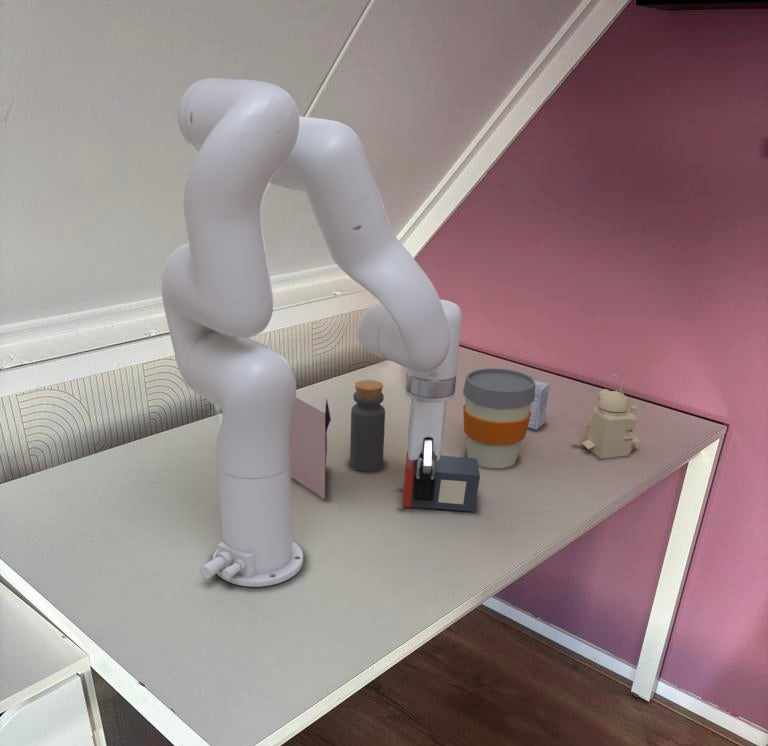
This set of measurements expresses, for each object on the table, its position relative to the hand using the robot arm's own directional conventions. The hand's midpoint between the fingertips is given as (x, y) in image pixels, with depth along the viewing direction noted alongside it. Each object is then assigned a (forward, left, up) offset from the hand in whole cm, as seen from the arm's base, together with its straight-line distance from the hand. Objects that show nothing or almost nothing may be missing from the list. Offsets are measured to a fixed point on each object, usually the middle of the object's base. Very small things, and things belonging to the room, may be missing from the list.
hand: (422, 488), depth 130 cm
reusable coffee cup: (+22, -2, -2) cm, 22 cm away
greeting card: (-6, +19, -2) cm, 20 cm away
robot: (+39, -18, -2) cm, 43 cm away
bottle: (+6, +15, -2) cm, 16 cm away
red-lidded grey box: (+1, -2, -2) cm, 3 cm away
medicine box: (+41, 0, -2) cm, 41 cm away
